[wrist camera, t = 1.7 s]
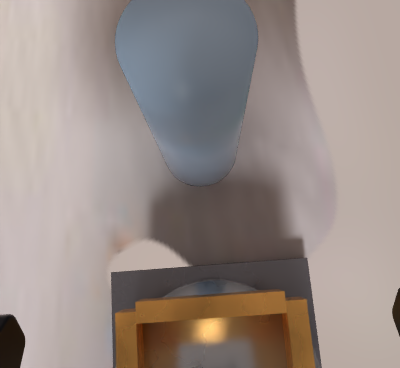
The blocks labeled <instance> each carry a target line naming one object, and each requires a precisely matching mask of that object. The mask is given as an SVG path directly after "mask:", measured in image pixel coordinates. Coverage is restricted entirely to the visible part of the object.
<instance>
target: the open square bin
mask: <svg viewBox="0 0 400 368" xmlns="http://www.w3.org/2000/svg"><path fill="white" fill-rule="evenodd" d="M111 286H112V332H113V368H322V367H321V359H320V351H319V344H318V336H317V329H316V321H315V314H314V306H313V299H312V291H311V283H310V276H309V268H308V261H307V258H297V259H284V260H270V261H257V262H244V263H231V264H217V265H204V266H191V267H178V268H164V269H152V270H137V271H124V272H111Z"/></svg>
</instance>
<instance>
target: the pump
mask: <svg viewBox="0 0 400 368" xmlns="http://www.w3.org/2000/svg"><path fill="white" fill-rule="evenodd" d="M257 45H258V30H257V24H256V21H255V18H254V15H253V13H252V11H251V9H250V7H249V6H248V4H247V3H246V2H245V0H131V2H130V3H129V4H128V5H127V7H126V8H125V10H124V11H123V13H122V15H121V17H120V19H119V22H118V25H117V29H116V34H115V49H116V54H117V58H118V61H119V64H120V66H121V68H122V71H123V73H124V75H125V77H126V79H127V81H128V83H129V85H130V88H131V90H132V92H133V94H134V96H135V98H136V100H137V102H138V105H139V107H140V109H141V111H142V113H143V115H144V117H145V119H146V122H147V124H148V126H149V128H150V130H151V132H152V134H153V136H154V139H155V141H156V143H157V145H158V147H159V149H160V151H161V153H162V156H163V158H164V160H165V162H166V164H167V166H168V168H169V170H170V171H171V173H172V174H173V175H174V176H175V177H176V178H177V179H179V180H180V181H182V182H184V183H186V184H188V185H192V186H208V185H211V184H214V183H216V182H218V181H220V180H221V179H223V178H224V177H225V176H226V175H227V174H228V173H229V171H230V170H231V168H232V167H233V164H234V162H235V158H236V153H237V148H238V143H239V138H240V133H241V128H242V123H243V117H244V112H245V107H246V102H247V97H248V92H249V87H250V82H251V77H252V72H253V67H254V62H255V57H256V51H257Z"/></svg>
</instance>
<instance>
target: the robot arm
mask: <svg viewBox="0 0 400 368" xmlns="http://www.w3.org/2000/svg"><path fill="white" fill-rule="evenodd" d="M392 314H393V319H394V322H395V325H396V327H397V330H398V333H399V336H400V288H399V289H398V292H397V296H396V299H395V302H394V305H393V309H392ZM24 347H25V336H24V333H23V331H22V329H21V328H20V326H19V324H18V322H17V320H16V318H15V317H14V316H13V315H11V314H6V315H0V368H20V365H21V361H22V356H23V352H24Z"/></svg>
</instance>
